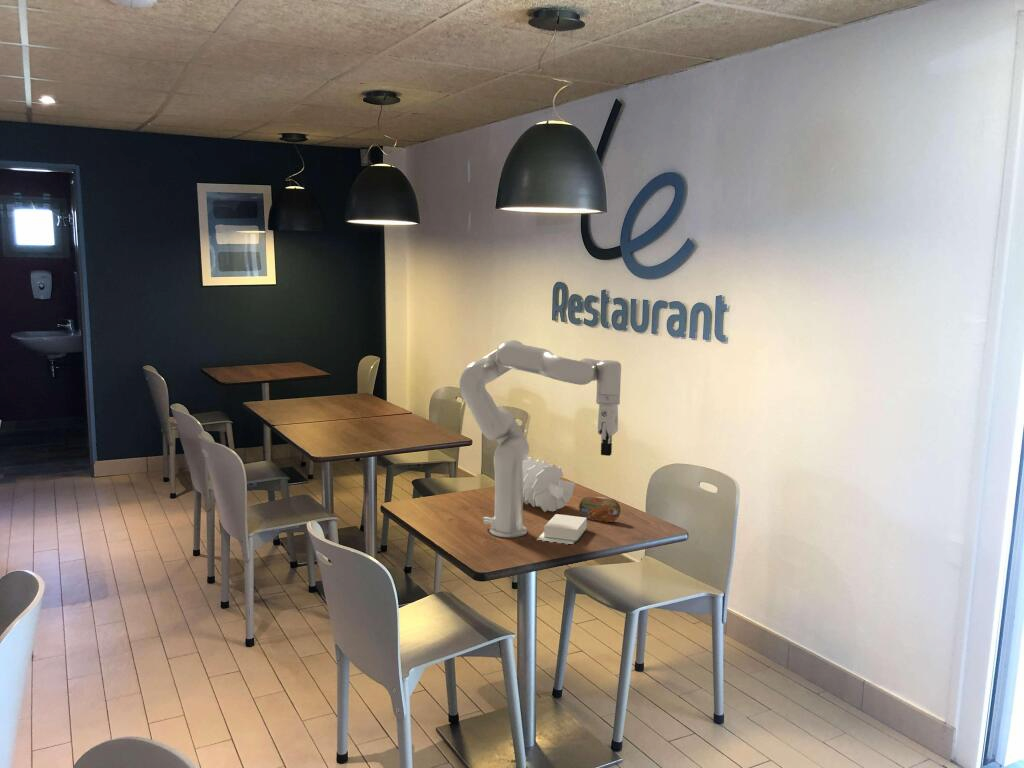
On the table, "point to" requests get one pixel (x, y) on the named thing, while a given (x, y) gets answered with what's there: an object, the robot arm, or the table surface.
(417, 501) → the table surface
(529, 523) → the table surface
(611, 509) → the tin
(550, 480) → the spiral staircase
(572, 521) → the tile
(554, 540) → the mat
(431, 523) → the table surface
